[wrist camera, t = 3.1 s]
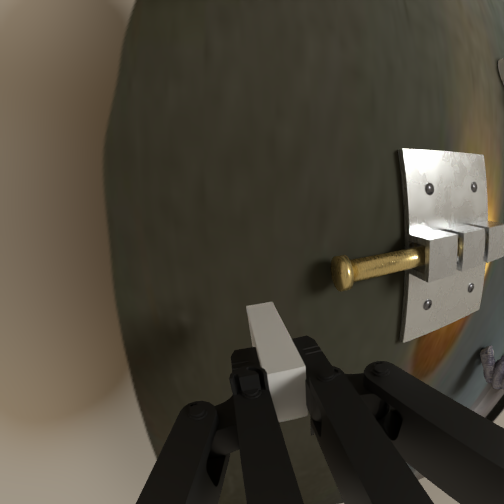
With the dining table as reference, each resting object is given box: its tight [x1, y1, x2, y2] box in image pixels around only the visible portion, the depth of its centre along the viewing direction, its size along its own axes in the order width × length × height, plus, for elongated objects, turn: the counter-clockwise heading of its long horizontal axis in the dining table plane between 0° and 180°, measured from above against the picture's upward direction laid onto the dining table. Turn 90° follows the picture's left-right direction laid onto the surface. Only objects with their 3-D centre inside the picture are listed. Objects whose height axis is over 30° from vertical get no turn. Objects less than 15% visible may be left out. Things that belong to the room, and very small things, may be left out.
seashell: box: [480, 345, 504, 389], centre depth 25 cm, size 5×5×10 cm
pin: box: [331, 238, 460, 291], centre depth 22 cm, size 3×16×3 cm, turn 98°
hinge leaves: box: [398, 149, 504, 343], centre depth 22 cm, size 20×14×4 cm
